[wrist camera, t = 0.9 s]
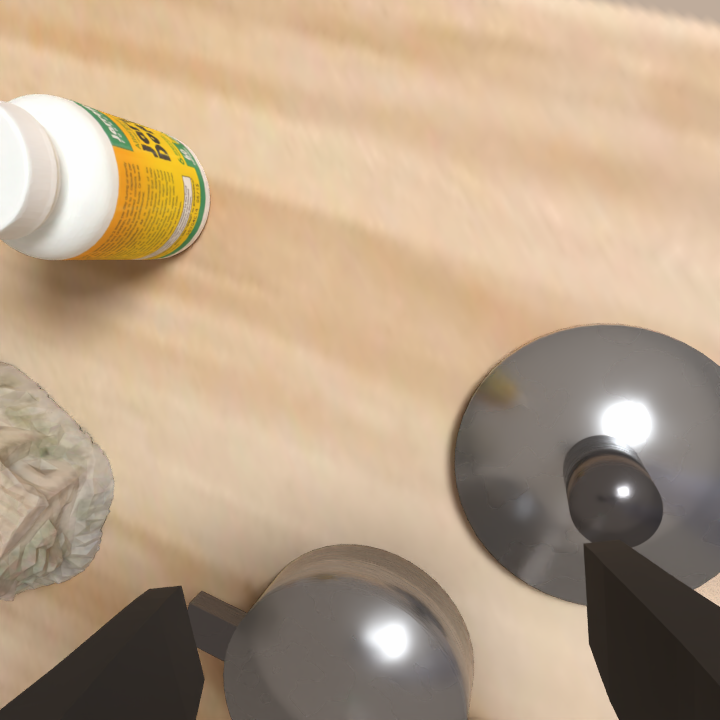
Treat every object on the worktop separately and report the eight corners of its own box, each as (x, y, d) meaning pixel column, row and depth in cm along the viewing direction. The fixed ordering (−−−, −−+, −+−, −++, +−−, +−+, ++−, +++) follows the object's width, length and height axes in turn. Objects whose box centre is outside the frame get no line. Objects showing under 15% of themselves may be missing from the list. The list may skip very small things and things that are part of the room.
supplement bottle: (93, 234, 28) (-118, 222, 19) (124, 116, 27) (-88, 41, 18) (194, 278, 27) (23, 288, 18) (231, 158, 26) (66, 102, 17)
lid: (815, 384, 22) (888, 416, 17) (681, 639, 24) (716, 723, 20) (514, 282, 24) (512, 287, 19) (420, 527, 26) (399, 580, 22)
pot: (560, 628, 25) (565, 685, 22) (474, 812, 27) (466, 889, 24) (249, 489, 28) (211, 520, 25) (195, 666, 30) (154, 717, 27)
